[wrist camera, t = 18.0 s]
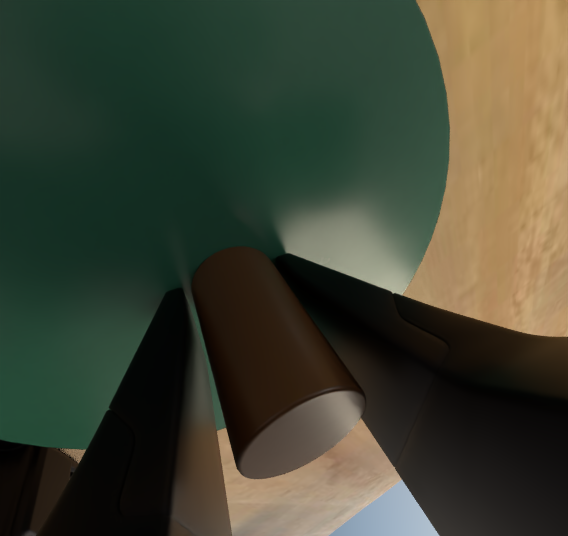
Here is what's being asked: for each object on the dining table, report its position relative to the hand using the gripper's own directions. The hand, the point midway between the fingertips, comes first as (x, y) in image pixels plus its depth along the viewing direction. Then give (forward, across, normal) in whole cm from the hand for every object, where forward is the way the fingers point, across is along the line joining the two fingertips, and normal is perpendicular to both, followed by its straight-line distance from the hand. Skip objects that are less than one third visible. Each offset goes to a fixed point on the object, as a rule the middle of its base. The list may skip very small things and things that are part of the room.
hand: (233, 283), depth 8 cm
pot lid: (0, 0, 0) cm, 0 cm away
